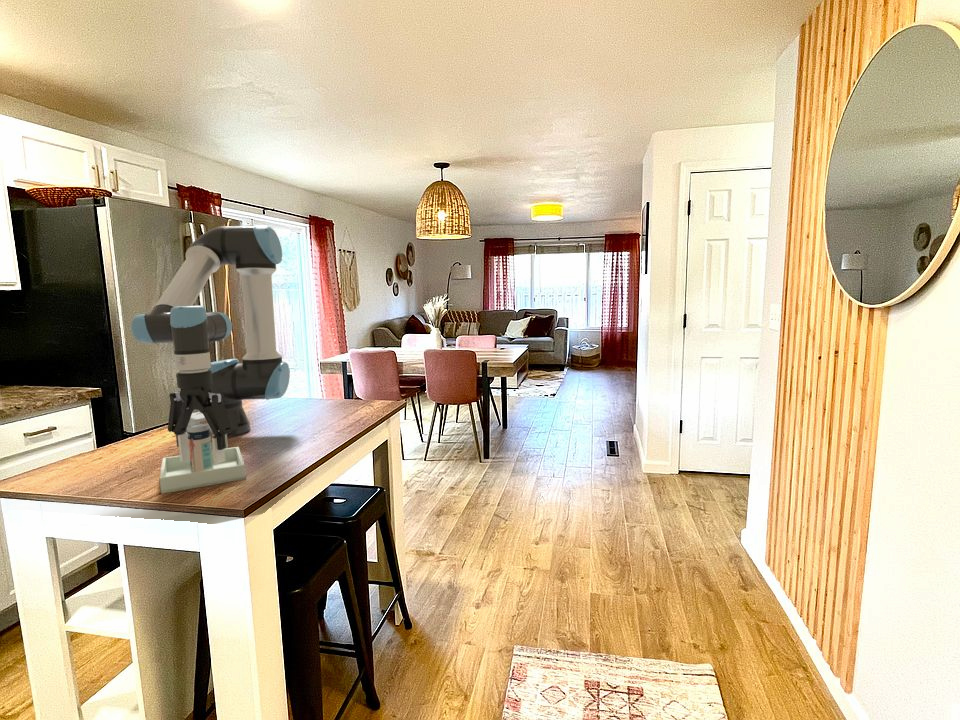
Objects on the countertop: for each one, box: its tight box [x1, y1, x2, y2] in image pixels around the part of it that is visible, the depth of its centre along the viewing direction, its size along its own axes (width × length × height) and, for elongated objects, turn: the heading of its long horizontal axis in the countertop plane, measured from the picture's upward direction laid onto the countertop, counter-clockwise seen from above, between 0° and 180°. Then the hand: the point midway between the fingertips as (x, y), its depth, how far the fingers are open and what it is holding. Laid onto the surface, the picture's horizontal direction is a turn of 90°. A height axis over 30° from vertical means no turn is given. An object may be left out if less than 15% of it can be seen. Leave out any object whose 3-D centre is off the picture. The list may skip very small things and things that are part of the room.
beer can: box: [187, 424, 213, 473], centre depth 127 cm, size 5×5×12 cm
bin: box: [159, 446, 247, 495], centre depth 129 cm, size 17×17×4 cm
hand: (202, 460), depth 128 cm, fingers open, 9 cm apart
